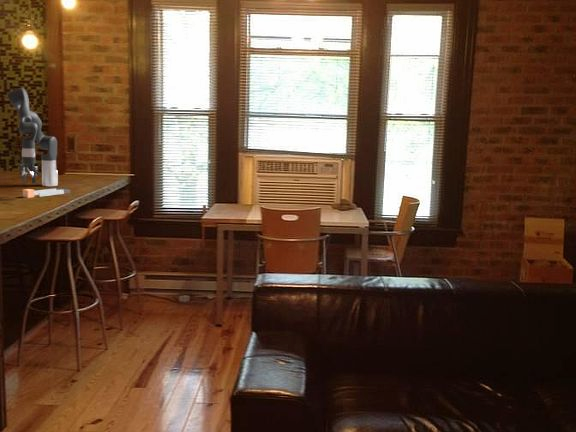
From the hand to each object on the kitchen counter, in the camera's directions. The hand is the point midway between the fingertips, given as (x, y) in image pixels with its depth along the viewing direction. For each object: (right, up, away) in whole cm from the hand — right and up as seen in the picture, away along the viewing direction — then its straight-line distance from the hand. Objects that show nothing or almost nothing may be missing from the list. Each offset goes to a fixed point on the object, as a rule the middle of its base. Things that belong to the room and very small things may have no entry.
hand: (29, 182), depth 404 cm
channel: (+7, -7, +13) cm, 16 cm away
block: (-1, -9, +1) cm, 9 cm away
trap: (+13, -5, +22) cm, 26 cm away
